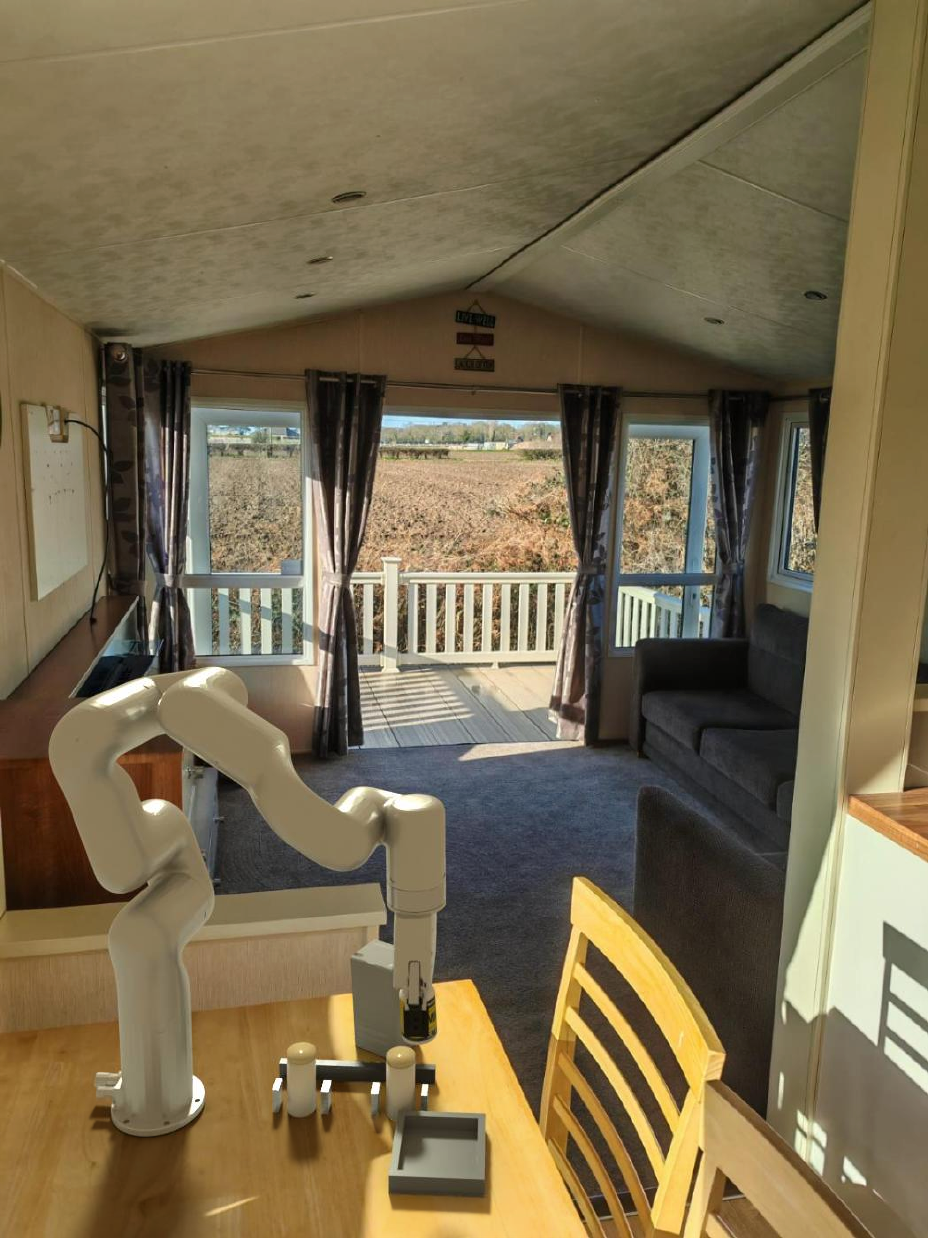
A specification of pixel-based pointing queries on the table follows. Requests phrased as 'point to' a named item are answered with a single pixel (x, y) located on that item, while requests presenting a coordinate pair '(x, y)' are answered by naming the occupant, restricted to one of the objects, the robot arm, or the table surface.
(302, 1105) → the ball
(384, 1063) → the clip rail
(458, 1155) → the tray
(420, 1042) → the supplement bottle
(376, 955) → the skincare box
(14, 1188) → the table surface
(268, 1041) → the table surface
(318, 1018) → the table surface
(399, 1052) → the cylinder
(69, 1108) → the table surface
